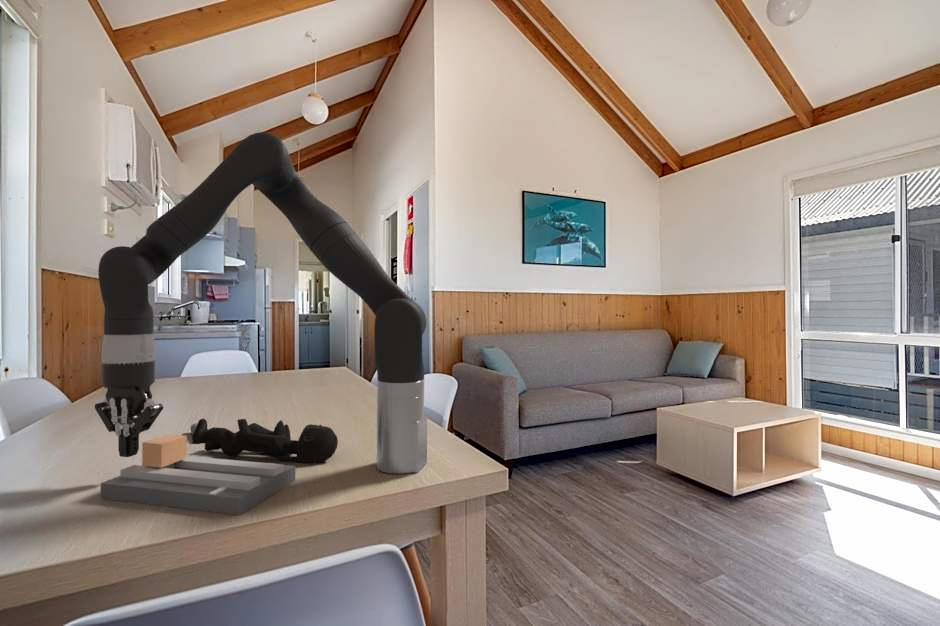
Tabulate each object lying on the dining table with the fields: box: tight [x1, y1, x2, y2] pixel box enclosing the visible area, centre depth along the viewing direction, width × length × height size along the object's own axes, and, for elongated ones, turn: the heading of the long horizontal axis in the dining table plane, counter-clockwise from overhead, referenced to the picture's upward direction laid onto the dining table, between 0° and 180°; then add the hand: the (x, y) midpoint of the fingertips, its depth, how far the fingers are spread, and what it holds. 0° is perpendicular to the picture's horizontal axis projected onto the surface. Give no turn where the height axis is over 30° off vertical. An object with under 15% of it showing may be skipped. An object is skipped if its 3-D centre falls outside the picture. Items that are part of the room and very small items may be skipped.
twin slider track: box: [100, 455, 296, 516], centre depth 74 cm, size 26×14×4 cm, turn 78°
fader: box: [141, 434, 188, 469], centre depth 76 cm, size 4×5×5 cm
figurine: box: [191, 418, 339, 465], centre depth 91 cm, size 8×30×8 cm, turn 79°
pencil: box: [190, 422, 198, 434], centre depth 105 cm, size 11×3×3 cm, turn 45°
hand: (128, 455), depth 78 cm, fingers closed
